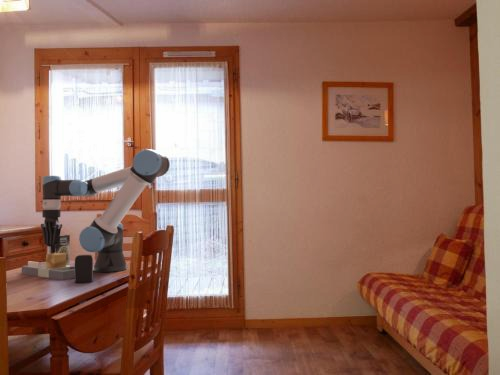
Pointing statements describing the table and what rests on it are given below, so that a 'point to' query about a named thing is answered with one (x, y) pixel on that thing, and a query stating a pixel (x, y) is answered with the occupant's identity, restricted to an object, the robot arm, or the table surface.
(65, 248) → the coffee box
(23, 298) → the table surface
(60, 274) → the tunnel deck
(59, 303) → the table surface
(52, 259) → the block
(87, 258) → the battery charger
